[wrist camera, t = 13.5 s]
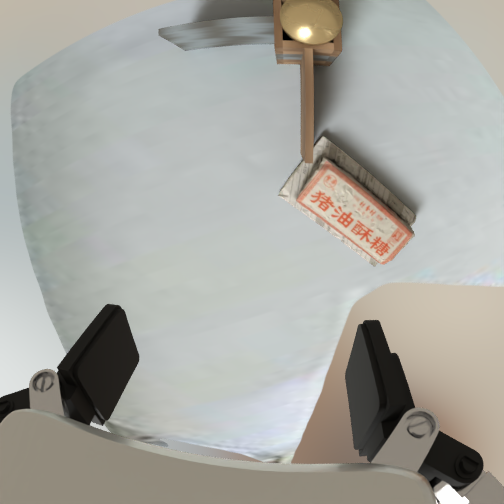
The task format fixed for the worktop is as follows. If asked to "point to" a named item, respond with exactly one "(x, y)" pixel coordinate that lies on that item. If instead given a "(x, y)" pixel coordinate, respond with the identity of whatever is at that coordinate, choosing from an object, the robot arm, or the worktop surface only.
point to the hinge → (264, 33)
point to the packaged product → (350, 204)
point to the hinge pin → (311, 21)
